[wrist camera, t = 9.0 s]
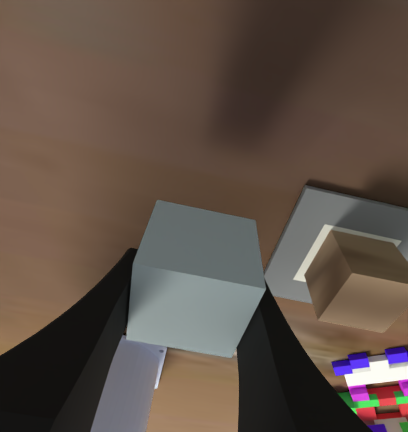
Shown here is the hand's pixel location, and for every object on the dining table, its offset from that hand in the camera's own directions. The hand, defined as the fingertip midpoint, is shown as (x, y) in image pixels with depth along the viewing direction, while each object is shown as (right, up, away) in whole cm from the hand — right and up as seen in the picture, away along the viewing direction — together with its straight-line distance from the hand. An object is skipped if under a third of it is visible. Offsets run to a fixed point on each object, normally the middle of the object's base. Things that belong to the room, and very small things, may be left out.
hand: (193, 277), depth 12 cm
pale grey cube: (0, +1, +1) cm, 2 cm away
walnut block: (+11, 0, +8) cm, 13 cm away
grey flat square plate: (+11, 0, +8) cm, 14 cm away
